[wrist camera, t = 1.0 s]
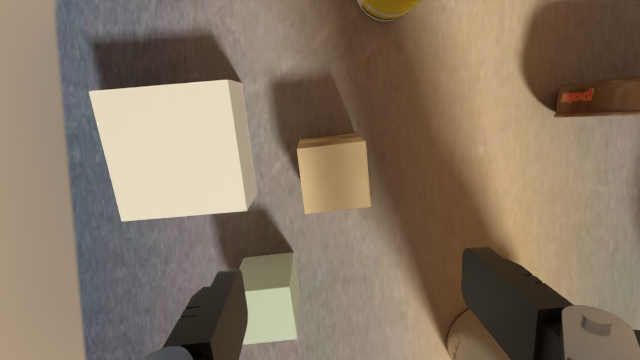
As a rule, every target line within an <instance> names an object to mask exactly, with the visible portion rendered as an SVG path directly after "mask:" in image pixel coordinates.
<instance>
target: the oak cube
mask: <svg viewBox="0 0 640 360" xmlns="http://www.w3.org/2000/svg"><path fill="white" fill-rule="evenodd" d="M297 155H298V163H299V170H300V178H301V186H302V193H303V201H304V209H305V214H311V213H320V212H329V211H338V210H347V209H356V208H365V207H371V202H370V189H369V176H368V162H367V149H366V141H365V140H364V139H362V138H361V137H360V136H359V135H357V134H356V133H351V134H342V135H333V136H324V137H315V138H306V139H300V141H299V144H298V147H297Z"/></svg>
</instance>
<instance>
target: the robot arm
mask: <svg viewBox="0 0 640 360" xmlns="http://www.w3.org/2000/svg"><path fill="white" fill-rule="evenodd" d="M462 294H463V298H464V301H465V303H466V304H467V306H468V307H469V308H470V309H468V310H467V311H466V312H464V313H463V314H462V315H460V317H459V318H458V319H457V320H456V321H455V322H454V324H453V325H452V327H451V328H450V331H449V334H448V337H447V349H448V353H449V355H450V357H451V359H452V360H640V330H633V329H632V328H631V326H630V325H629V324H627V323H626V322H625V321H624V320H622V319H621V318H619V317H617V316H616V315H614V314H611V313H609V312H607V311H604V310H601V309H598V308H594V307H590V306H583V305H573V304H572V303H570V302H569V301H568V300H566V299H565V298H564V297H562V296H561V295H560V294H558V293H557V292H556V291H554V290H553V289H552V288H550V287H549V286H548V285H546V284H545V283H542V281H541V280H540V279H538V278H537V277H536V276H533V275H532V273H530V272H529V271H528V270H526V269H525V268H524V267H522V266H521V265H519V264H516V263H514V262H512V261H509V260H507V259H503V258H502V257H501V256H499V255H498V254H497V253H496V252H494V251H493V250H492V249H490V248H489V247H476V248H466V249H465V250H464V251H463V257H462ZM247 323H248V308H247V302H246V295H245V288H244V282H243V275H242V272H241V270H240V269H239V270H228V271H219V272H218V273H217V275H216V277H215V279H214V281H213V283H212V285H211V287H203V288H202V289H201V290H199V291H198V292H197V293H196V294H195V295H194V296H192V298H191V299H190V301H189V303H188V305H187V306H186V309H185V310H184V311H183V313H182V315H181V318H180V319H179V320H178V322H177V324H176V325H175V327H174V329H173V330H172V332H171V334H170V336H169V337H168V339H167V341H166V343H165V344H164V346H163V348H161V349H159V350H156V351H154V352H152V353H150V354H148V355H147V356H145V357H144V358H142V359H141V360H239V356H240V352H241V348H242V345H243V341H244V337H245V333H246V329H247Z"/></svg>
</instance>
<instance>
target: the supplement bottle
mask: <svg viewBox="0 0 640 360" xmlns="http://www.w3.org/2000/svg"><path fill="white" fill-rule="evenodd" d="M420 1H421V0H357V2H358V4H359V6H360V7H361V9H362V10H363V11H364V12H365V13H366V14H367V15H368V16H370V17H371V18H373V19H376V20H379V21H393V20H396V19H399V18H401V17H402V16H404V15H405V14H407V13H408V12H409V11H411V10H412V9H413V8H414V7H415V6H416V5H417V4H418V3H419V2H420Z"/></svg>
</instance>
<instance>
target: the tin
mask: <svg viewBox="0 0 640 360" xmlns="http://www.w3.org/2000/svg"><path fill="white" fill-rule="evenodd" d="M627 115H640V76H636V77H626V78H616V79H608V80H602V81H597V82H594V83H591V84H586V85H580V86H562V87H561V88H560V89H559V93H558V99H557V108H556V114H555V115H554V117H587V116H588V117H589V116H627Z"/></svg>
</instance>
